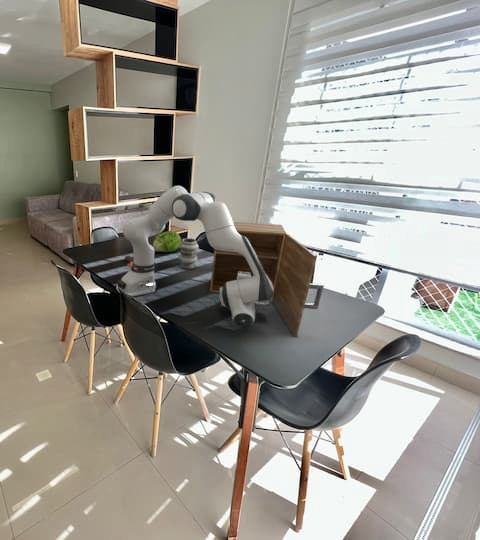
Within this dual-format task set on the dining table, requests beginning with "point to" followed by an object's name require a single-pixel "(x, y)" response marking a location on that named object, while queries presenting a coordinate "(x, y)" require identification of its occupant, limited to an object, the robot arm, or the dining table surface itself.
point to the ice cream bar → (129, 259)
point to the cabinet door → (295, 283)
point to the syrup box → (243, 275)
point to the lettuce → (167, 242)
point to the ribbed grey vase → (188, 253)
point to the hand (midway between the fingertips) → (242, 288)
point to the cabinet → (265, 246)
